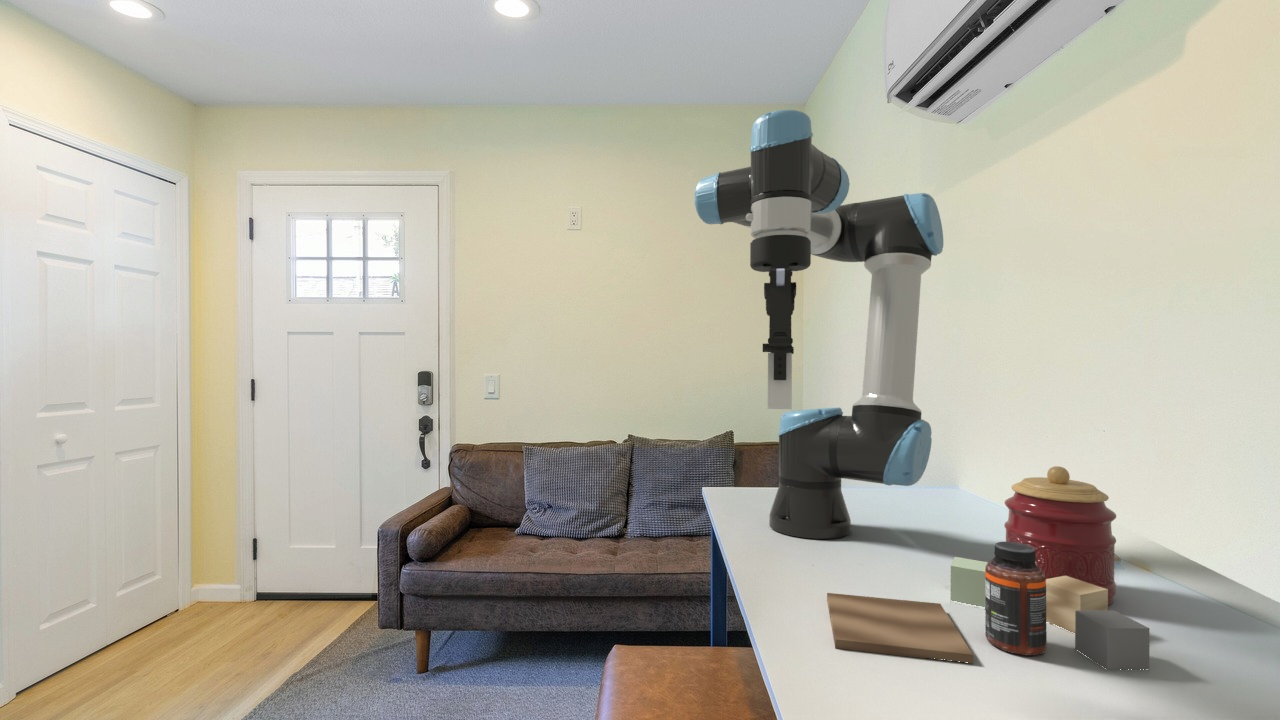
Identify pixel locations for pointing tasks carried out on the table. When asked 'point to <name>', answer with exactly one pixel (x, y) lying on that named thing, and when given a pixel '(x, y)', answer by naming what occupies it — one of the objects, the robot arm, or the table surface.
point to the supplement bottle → (1015, 600)
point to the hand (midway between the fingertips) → (779, 405)
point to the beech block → (1072, 600)
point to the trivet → (895, 628)
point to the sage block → (968, 581)
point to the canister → (1064, 527)
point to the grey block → (1112, 640)
